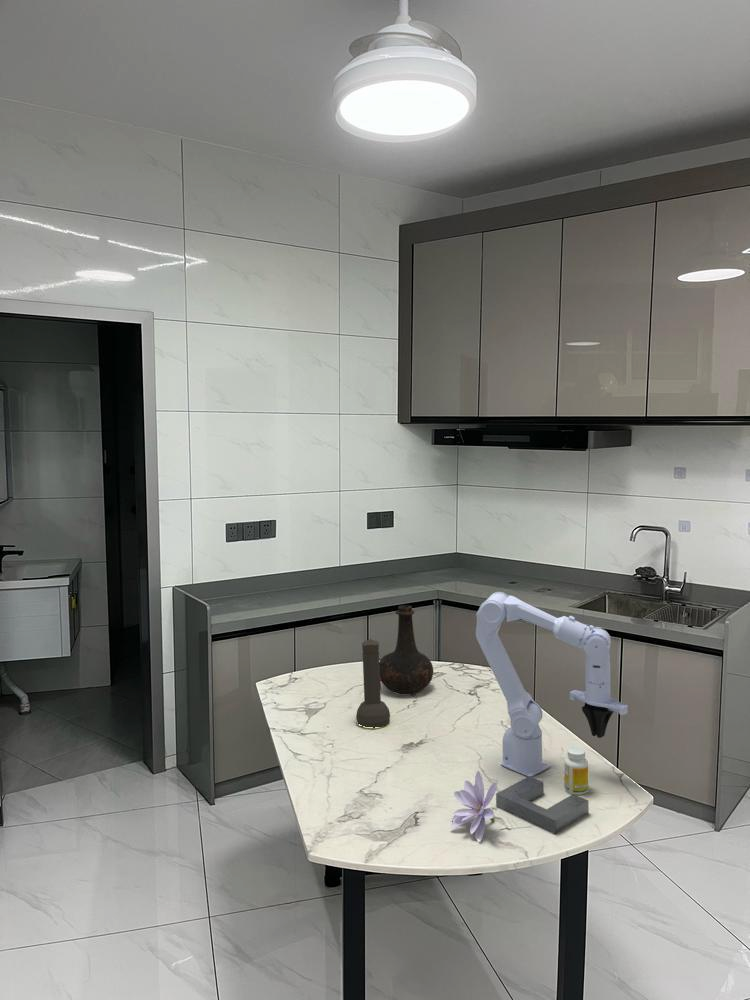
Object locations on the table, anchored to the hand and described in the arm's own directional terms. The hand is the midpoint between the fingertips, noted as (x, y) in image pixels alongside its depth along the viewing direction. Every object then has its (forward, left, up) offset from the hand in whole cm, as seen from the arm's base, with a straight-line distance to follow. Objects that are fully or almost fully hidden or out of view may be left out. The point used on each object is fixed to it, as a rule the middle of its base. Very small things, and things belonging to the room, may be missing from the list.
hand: (598, 735), depth 179 cm
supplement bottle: (0, -9, -11) cm, 14 cm away
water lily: (-6, -38, -11) cm, 40 cm away
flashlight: (-64, -17, -11) cm, 67 cm away
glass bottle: (-77, +8, -11) cm, 78 cm away
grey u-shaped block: (0, -22, -10) cm, 24 cm away
